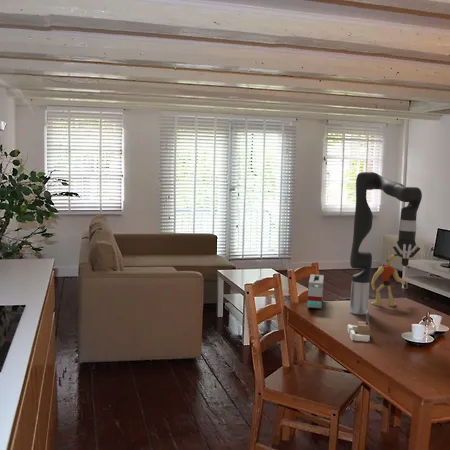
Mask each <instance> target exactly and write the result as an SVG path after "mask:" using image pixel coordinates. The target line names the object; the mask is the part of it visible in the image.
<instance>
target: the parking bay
mask: <svg viewBox="0 0 450 450" xmlns="http://www.w3.org/2000/svg"><path fill="white" fill-rule="evenodd" d="M347 332H348V335H349V337H350V339H351V341H353V340H354V341H355V342H368V341H369V342H370V337H371V336H370V334H369V335H359V334H357V325H352V324H347Z"/></svg>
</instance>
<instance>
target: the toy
mask: <svg viewBox="0 0 450 450" xmlns="http://www.w3.org/2000/svg"><path fill="white" fill-rule="evenodd" d="M397 256H398V255H397V253H396V254H391V255H390V256H388V259H386V262H387V265H380V266H379V267H378V269H377V271H375V273H374V274H373V277H372V279H371V283H370V285H371V288H372V290H373V291H375V290H376V293H375V294H376V295H375V296H376V297H375V300H374V301H371V302H370V304H371V305H374V306H376V307H382V302H383V301H382V297H381V296H382V295H381V292H380V291H381V290H382V289H383V288H385V287H387V289H388V302H387V303H388V304H387V306H389V307H394V306H397V303H396V302H395V300H394V297H393V293H392V287H391V282H390V277H391V276H393V278H394V281H396V282H395V285H398V284H400V283H401V284H402V285H403V288H404V289H407V283H406V281H404V280H403V278H401V277H400V276H399V273H398V270H397V269H395V268H394V267H392V266H391V262H392V261H394V260H395V259H396V257H397ZM398 257H399V256H398ZM379 276H380V277H381V279H382V281H383V283H382V284H380V285H379V287H377V288H376V284H375V283H376V281H377V280H378V278H379Z"/></svg>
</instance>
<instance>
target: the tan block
mask: <svg viewBox="0 0 450 450" xmlns="http://www.w3.org/2000/svg"><path fill="white" fill-rule="evenodd" d="M369 319H370V311H369V310H367V311H366V314H365V321H362V320H361V321H359V320H357V324H356V326H357V332H356V334H359V335H369V336H370V329H371V328H370V322H369Z"/></svg>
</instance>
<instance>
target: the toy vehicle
mask: <svg viewBox="0 0 450 450" xmlns="http://www.w3.org/2000/svg"><path fill="white" fill-rule="evenodd" d="M324 279H325V276H324V274H312V273H311V274H310V276H309V280H308V291H307V292H308V293H307V305H306V307H307V308H310V309H311V308H312V309H322V307H323V305H322V304H323V297H324V296H323V295H324V287H325V285H324Z"/></svg>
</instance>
